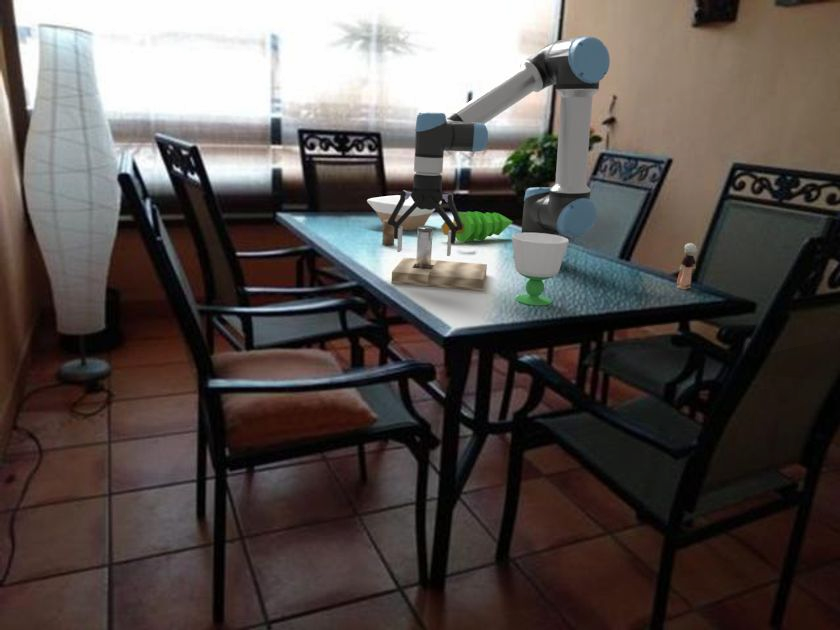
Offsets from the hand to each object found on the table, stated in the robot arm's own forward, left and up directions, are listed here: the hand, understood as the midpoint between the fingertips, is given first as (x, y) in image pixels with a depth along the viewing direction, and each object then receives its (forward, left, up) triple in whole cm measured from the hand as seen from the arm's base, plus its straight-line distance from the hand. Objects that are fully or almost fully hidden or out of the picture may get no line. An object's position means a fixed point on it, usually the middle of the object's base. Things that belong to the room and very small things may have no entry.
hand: (423, 253), depth 173 cm
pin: (0, 0, -6) cm, 6 cm away
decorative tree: (-12, -61, -7) cm, 63 cm away
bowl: (+19, -77, -7) cm, 80 cm away
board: (-5, 0, -7) cm, 8 cm away
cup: (-30, +14, -7) cm, 34 cm away
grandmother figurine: (-72, -13, -7) cm, 73 cm away
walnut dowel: (+18, -41, -7) cm, 45 cm away
